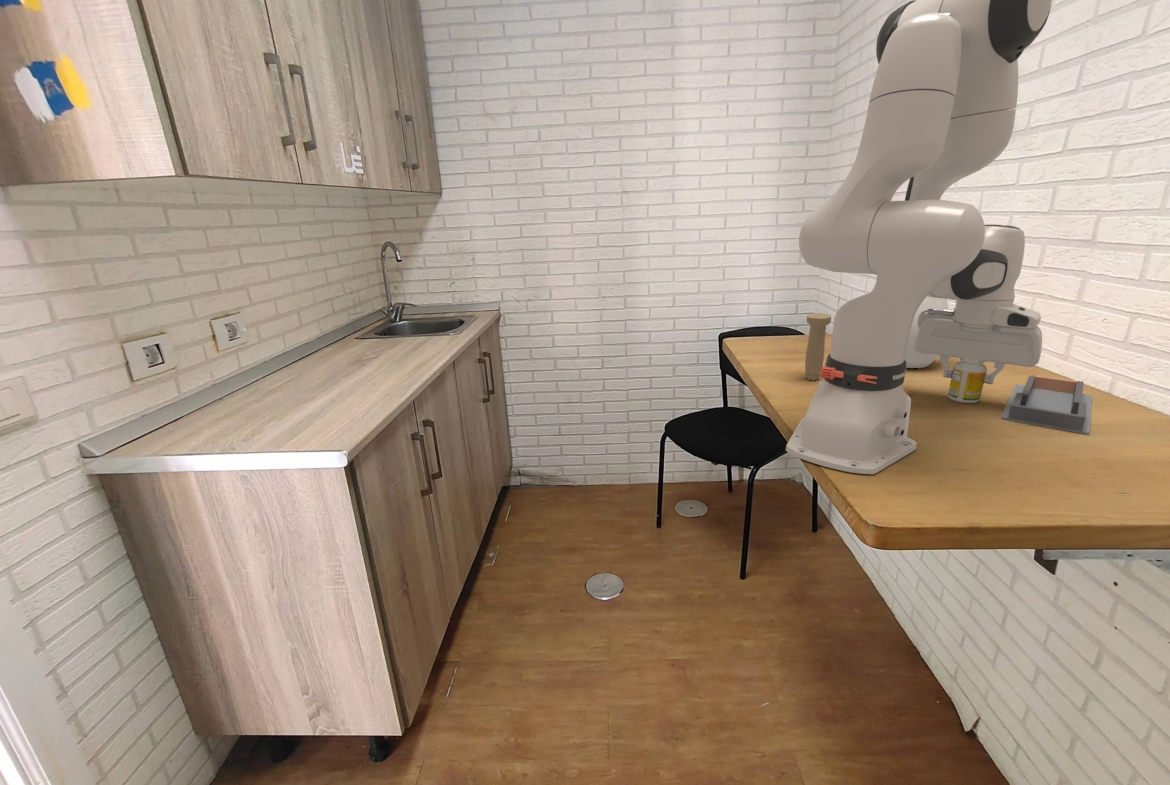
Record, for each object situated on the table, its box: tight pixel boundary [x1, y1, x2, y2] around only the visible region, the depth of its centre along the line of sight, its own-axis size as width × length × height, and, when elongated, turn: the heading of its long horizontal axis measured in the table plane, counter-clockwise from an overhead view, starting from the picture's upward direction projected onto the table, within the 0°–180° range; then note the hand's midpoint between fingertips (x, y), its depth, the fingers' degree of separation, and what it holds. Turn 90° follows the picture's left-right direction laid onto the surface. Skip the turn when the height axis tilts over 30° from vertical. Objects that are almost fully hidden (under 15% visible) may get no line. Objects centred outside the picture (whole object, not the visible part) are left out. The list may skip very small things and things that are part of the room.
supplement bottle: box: [947, 356, 988, 404], centre depth 105 cm, size 5×5×10 cm
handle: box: [804, 312, 832, 381], centre depth 120 cm, size 5×6×15 cm
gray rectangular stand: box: [1000, 374, 1093, 436], centre depth 100 cm, size 24×12×3 cm, turn 137°
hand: (967, 380), depth 105 cm, fingers closed on supplement bottle, 5 cm apart
